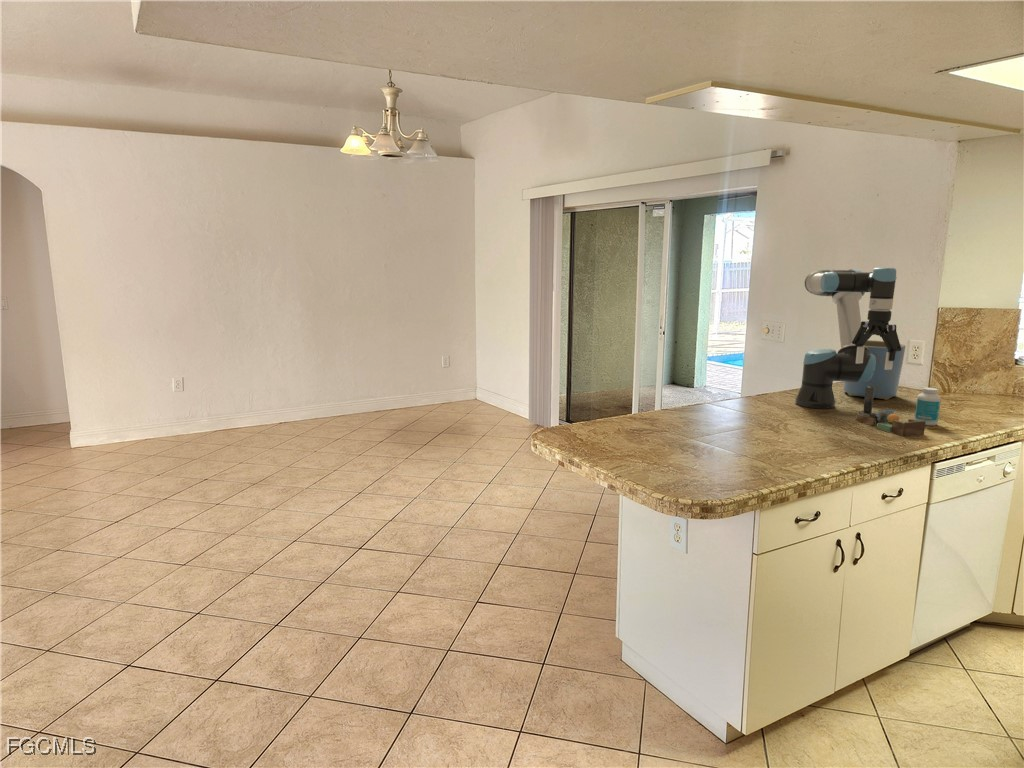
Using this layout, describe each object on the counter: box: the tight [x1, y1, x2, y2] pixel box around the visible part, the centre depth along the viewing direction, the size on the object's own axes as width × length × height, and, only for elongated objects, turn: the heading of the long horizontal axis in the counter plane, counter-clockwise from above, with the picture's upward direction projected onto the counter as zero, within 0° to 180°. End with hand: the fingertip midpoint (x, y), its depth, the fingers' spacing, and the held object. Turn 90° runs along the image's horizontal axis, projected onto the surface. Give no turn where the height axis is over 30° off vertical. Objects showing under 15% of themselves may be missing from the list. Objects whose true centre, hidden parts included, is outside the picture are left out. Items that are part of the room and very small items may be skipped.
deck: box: [876, 420, 904, 433], centre depth 228 cm, size 6×10×2 cm, turn 105°
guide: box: [855, 413, 889, 426], centre depth 237 cm, size 8×7×2 cm
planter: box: [843, 339, 906, 401], centre depth 280 cm, size 23×23×24 cm
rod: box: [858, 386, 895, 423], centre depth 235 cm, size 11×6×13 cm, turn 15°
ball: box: [887, 413, 900, 423], centre depth 228 cm, size 4×4×4 cm
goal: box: [890, 418, 926, 437], centre depth 222 cm, size 6×8×5 cm
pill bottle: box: [914, 387, 942, 426], centre depth 234 cm, size 8×7×14 cm
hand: (873, 366), depth 235 cm, fingers open, 13 cm apart
